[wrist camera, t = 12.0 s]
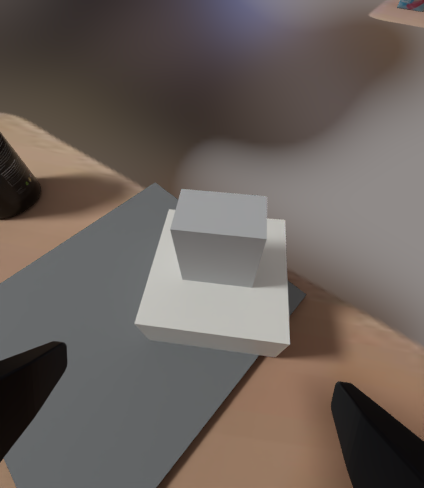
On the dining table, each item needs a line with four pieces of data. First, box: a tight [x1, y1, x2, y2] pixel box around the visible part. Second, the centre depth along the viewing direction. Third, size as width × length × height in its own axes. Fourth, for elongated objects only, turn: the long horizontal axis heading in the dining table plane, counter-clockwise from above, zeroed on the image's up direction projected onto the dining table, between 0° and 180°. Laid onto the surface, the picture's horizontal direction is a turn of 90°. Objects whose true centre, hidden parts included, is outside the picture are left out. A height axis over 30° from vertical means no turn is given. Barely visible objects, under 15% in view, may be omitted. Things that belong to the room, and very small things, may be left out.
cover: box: [134, 189, 290, 357], centre depth 18 cm, size 10×10×10 cm
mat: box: [0, 183, 306, 488], centre depth 22 cm, size 21×23×1 cm
